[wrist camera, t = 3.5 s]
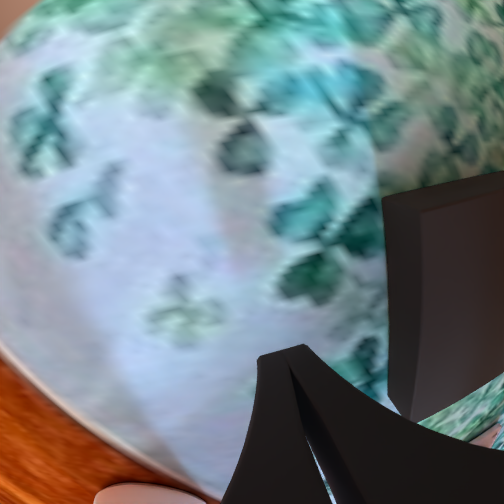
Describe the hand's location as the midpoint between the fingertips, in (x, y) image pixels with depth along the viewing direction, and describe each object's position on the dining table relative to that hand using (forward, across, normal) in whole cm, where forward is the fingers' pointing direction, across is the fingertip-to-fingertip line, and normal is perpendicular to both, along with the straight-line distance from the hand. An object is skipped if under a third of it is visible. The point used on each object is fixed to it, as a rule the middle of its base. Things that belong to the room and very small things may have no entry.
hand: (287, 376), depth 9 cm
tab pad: (+1, -8, 0) cm, 8 cm away
